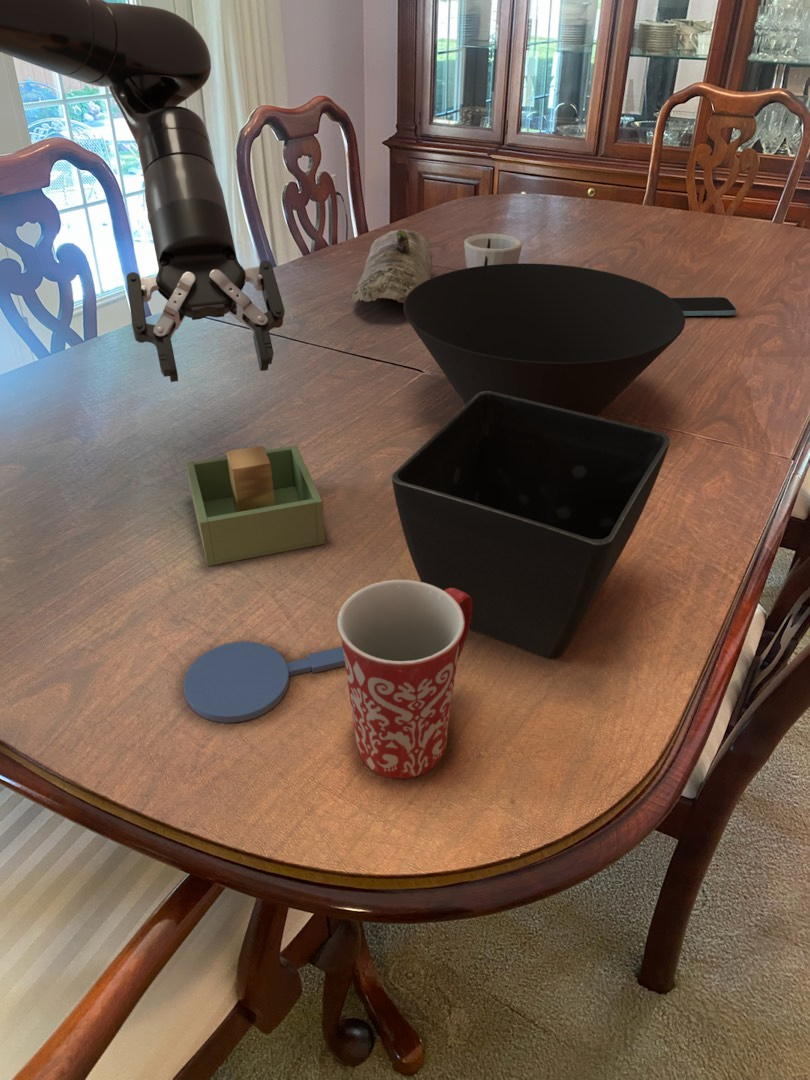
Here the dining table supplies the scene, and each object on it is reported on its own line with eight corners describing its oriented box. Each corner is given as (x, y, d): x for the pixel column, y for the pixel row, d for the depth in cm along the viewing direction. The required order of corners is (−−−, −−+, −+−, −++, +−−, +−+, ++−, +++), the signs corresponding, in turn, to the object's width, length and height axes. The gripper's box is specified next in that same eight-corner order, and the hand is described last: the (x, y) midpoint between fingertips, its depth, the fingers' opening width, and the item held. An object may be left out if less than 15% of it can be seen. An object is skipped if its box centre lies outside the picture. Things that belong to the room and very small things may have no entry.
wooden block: (241, 532, 89) (232, 469, 84) (235, 513, 92) (226, 451, 87) (277, 525, 90) (270, 462, 85) (270, 506, 93) (263, 445, 88)
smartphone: (642, 297, 148) (726, 296, 147) (642, 303, 148) (725, 302, 148) (651, 312, 142) (738, 310, 141) (650, 318, 143) (737, 316, 142)
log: (349, 272, 133) (366, 204, 155) (347, 336, 141) (363, 262, 163) (433, 281, 133) (437, 212, 155) (426, 344, 141) (431, 269, 163)
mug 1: (405, 811, 60) (406, 683, 53) (321, 747, 65) (310, 620, 57) (506, 715, 68) (519, 590, 60) (424, 664, 73) (426, 542, 65)
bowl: (514, 510, 93) (525, 390, 84) (355, 395, 117) (352, 292, 108) (719, 429, 109) (746, 320, 100) (542, 342, 133) (552, 249, 124)
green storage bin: (207, 566, 85) (199, 523, 81) (193, 503, 94) (185, 462, 91) (325, 543, 88) (322, 501, 85) (299, 485, 97) (296, 444, 94)
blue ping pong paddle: (191, 734, 66) (189, 727, 66) (179, 660, 73) (178, 654, 73) (400, 683, 71) (400, 677, 71) (371, 618, 78) (370, 612, 78)
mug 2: (462, 305, 147) (464, 249, 141) (460, 279, 159) (462, 226, 153) (520, 306, 147) (525, 250, 141) (514, 279, 159) (518, 226, 153)
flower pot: (580, 701, 69) (609, 542, 59) (388, 628, 77) (385, 476, 67) (642, 580, 83) (674, 433, 73) (473, 528, 90) (482, 388, 80)
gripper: (108, 200, 74) (139, 367, 72) (263, 190, 78) (297, 348, 76) (117, 244, 81) (146, 397, 79) (259, 233, 85) (290, 378, 83)
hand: (220, 373), depth 77 cm, fingers open, 8 cm apart
